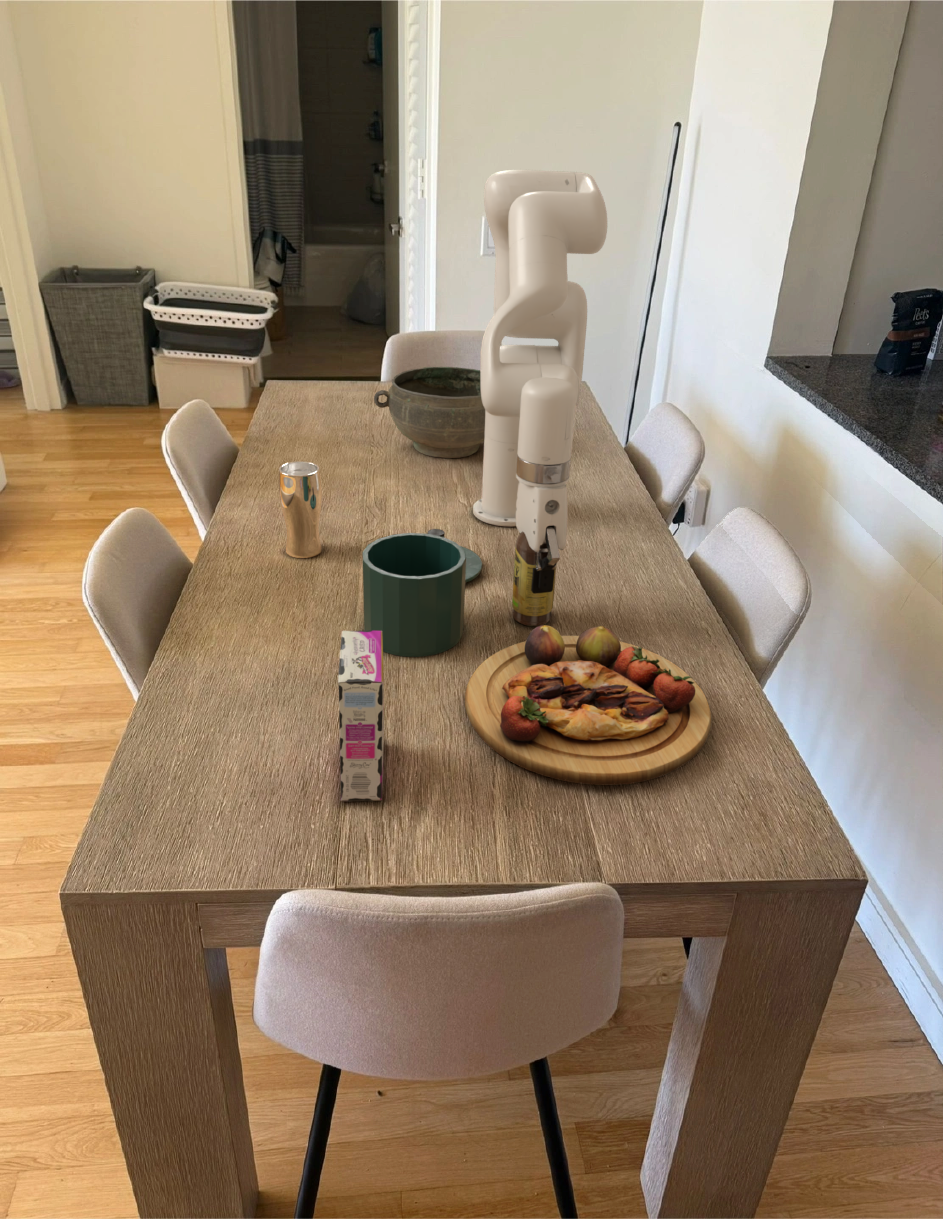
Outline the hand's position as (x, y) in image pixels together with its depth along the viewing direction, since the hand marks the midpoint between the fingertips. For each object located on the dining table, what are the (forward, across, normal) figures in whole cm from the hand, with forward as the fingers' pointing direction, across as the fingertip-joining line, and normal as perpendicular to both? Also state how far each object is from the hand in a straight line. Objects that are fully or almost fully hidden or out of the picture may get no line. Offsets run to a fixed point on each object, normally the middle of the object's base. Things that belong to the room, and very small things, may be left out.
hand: (534, 579), depth 142 cm
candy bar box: (+7, -30, +31) cm, 44 cm away
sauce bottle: (+7, 0, 0) cm, 7 cm away
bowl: (+7, +76, -6) cm, 77 cm away
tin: (+7, 0, +18) cm, 20 cm away
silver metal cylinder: (+7, +30, +31) cm, 44 cm away
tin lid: (+6, +19, +11) cm, 23 cm away
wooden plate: (+7, -25, +1) cm, 26 cm away
